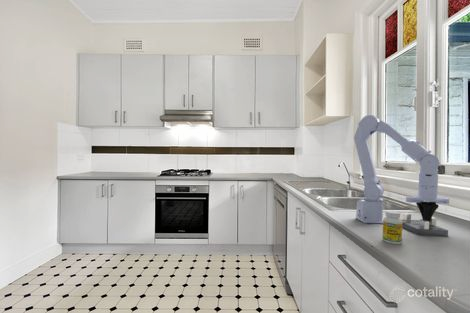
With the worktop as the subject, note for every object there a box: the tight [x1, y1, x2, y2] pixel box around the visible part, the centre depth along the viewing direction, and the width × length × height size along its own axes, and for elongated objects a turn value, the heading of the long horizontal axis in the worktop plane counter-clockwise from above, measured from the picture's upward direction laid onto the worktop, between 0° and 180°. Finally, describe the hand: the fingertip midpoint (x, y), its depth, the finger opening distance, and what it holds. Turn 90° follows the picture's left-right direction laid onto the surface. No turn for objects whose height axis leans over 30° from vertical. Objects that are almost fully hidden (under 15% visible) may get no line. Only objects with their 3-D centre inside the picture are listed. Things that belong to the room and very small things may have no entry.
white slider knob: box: [429, 216, 437, 226], centre depth 96 cm, size 2×2×2 cm, turn 177°
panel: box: [401, 212, 449, 237], centre depth 96 cm, size 10×13×5 cm
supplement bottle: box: [382, 210, 403, 245], centre depth 82 cm, size 5×5×10 cm
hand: (426, 222), depth 96 cm, fingers closed
